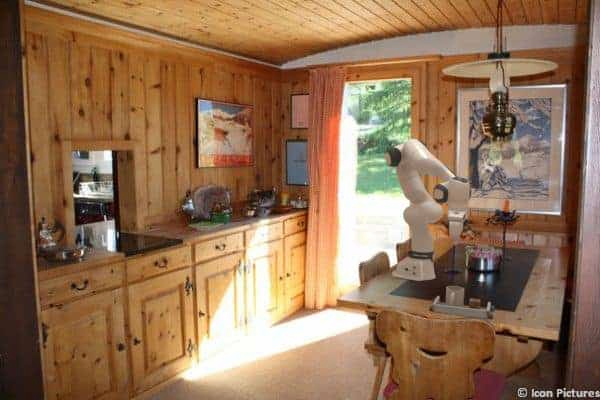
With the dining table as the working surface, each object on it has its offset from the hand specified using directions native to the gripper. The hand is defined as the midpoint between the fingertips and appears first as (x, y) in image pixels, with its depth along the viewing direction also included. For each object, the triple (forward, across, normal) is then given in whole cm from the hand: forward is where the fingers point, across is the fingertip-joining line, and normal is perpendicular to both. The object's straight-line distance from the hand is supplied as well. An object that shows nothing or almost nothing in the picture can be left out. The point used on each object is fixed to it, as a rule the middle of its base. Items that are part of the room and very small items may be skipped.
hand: (455, 244), depth 224 cm
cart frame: (+24, +17, +6) cm, 30 cm away
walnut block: (+24, +17, +11) cm, 31 cm away
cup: (+25, +18, +3) cm, 30 cm away
